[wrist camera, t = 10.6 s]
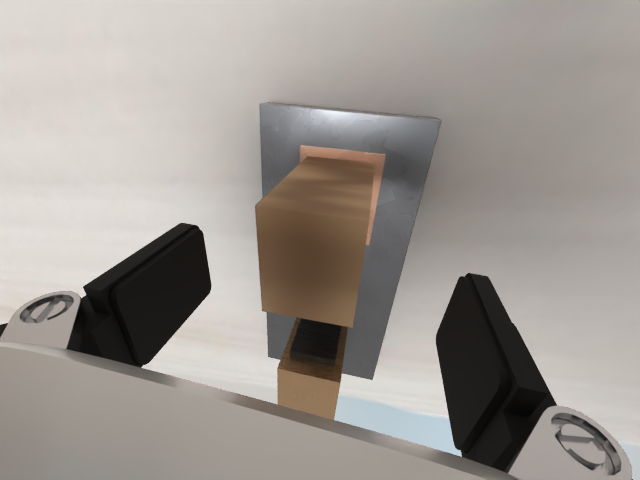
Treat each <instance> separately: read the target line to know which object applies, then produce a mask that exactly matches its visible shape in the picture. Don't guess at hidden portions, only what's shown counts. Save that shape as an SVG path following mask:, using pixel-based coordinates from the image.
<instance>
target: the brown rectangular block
mask: <svg viewBox="0 0 640 480" xmlns="http://www.w3.org/2000/svg"><path fill="white" fill-rule="evenodd" d="M374 166H375V163H371V162H361V161H351V160H341V159H331V158H321V157H311V156H307V157H306V158H305V159H304V160H303V161H302V162H301V163H300V164H299V165H298V166H297V167H295V168H294V169H293V170H292V171H291V172H290V173H289V174H288V175H287V176H286V177H285V178H284V179H283V180H282V181H281V182H280V183H279V184H277V185H276V186H275V187H274V188H273V189H272V190H271V191H270V192H269V193H268V194H267V195H266V196H265V197H264V198H263V199H262V200H261V201H259V202H258V203H257V204H256V205H255V212H256V227H257V241H258V256H259V271H260V286H261V300H262V311H265V312H270V313H276V314H281V315H286V316H292V317H297V318H303V319H308V320H313V321H319V322H324V323H330V324H335V325H340V326H346V327H351V328H353V322H354V316H355V310H356V303H357V297H358V290H359V284H360V277H361V271H362V265H363V258H364V252H365V245H366V239H367V233H368V226H369V219H370V209H371V198H372V187H373V177H374Z"/></svg>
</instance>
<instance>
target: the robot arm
mask: <svg viewBox="0 0 640 480" xmlns="http://www.w3.org/2000/svg"><path fill="white" fill-rule="evenodd" d="M83 288H84V290H85V292H86V296H84V297H83V298H82V299H81V297H80V296H79V295H78V294H77V293H75V292H72V291H59V292H53V293H49V294H46V295H43V296H40V297H38V298H35V299H33V300H31V301H29V302H27V303H26V304H24V305H23V306H21V307H20V308H19V309H18V310H17V311H16V312H15V313H14V314H13V316H12V317H11V319H10V321H9V323H6V324H2V325H0V480H633V479H632V466H631V464H630V462H629V459H628V457H627V455H626V453H625V452H624V450H623V449H622V447H621V446H620V445H619V443H618V442H617V441H616V440H615V439H614V438H613V437H612V436H611V435H610V434H609V433H608V432H607V430H605V429H604V428H603V427H602V426H600V425H599V424H598V423H597V422H595V421H594V420H593V419H591V418H589V417H588V416H586V415H584V414H582V413H581V412H579V411H576V410H574V409H571V408H568V407H563V406H557V404H556V402H555V401H554V399H553V397H552V395H551V393H550V391H549V389H548V387H547V385H546V383H545V381H544V379H543V378H542V376H541V374H540V372H539V370H538V368H537V366H536V364H535V362H534V360H533V358H532V356H531V355H530V353H529V351H528V349H527V347H526V345H525V343H524V341H523V339H522V337H521V335H520V333H519V332H518V330H517V328H516V326H515V325H514V324H513V323H512V322H511V320H510V318H509V316H508V314H507V312H506V310H505V308H504V306H503V304H502V302H501V300H500V298H499V297H498V295H497V293H496V291H495V289H494V287H493V285H492V283H491V281H490V279H489V278H488V277H487V276H482V275H477V274H471V273H468V274H467V275H466V276H465V277H463V276H461V277H460V278H459V279H458V282H457V284H456V287H455V289H454V292H453V294H452V297H451V299H450V302H449V304H448V307H447V309H446V312H445V314H444V317H443V319H442V322H441V324H440V327H439V329H438V332H437V335H436V346H437V351H438V357H439V363H440V368H441V374H442V379H443V385H444V391H445V396H446V402H447V408H448V413H449V419H450V424H451V429H452V435H453V441H454V445H455V447H456V448H457V449H458V450H461V453H462V457H460V456H456V455H453V454H450V453H447V452H443V451H440V450H436V449H433V448H430V447H426V446H423V445H419V444H416V443H413V442H409V441H406V440H403V439H399V438H395V437H392V436H389V435H385V434H381V433H378V432H375V431H371V430H367V429H363V428H360V427H356V426H352V425H349V424H346V423H342V422H339V421H335V420H331V419H328V418H324V417H321V416H317V415H313V414H310V413H306V412H303V411H299V410H295V409H292V408H288V407H284V406H281V405H277V404H273V403H270V402H266V401H262V400H258V399H255V398H251V397H248V396H244V395H240V394H237V393H233V392H229V391H225V390H222V389H218V388H214V387H210V386H207V385H203V384H200V383H196V382H192V381H189V380H185V379H181V378H177V377H173V376H170V375H166V374H162V373H158V372H155V371H151V370H147V369H143V368H141V367H142V366H143V365H145V364H147V363H149V362H150V361H151V360H152V359H153V358H154V356H155V355H156V354H157V353H158V352H159V351H160V349H161V348H162V347H163V346H164V345H165V344H166V343H167V341H168V340H169V339H170V338H171V337H172V336H173V335H174V333H175V332H176V331H177V330H178V329H179V328H180V327H181V325H182V324H183V323H184V322H185V321H186V320H187V318H188V317H189V316H190V315H191V314H192V313H193V312H194V310H195V309H196V308H197V307H198V306H199V305H200V304H201V302H202V301H203V300H204V299H205V298H206V297H207V296H208V294H209V293H210V290H211V280H210V274H209V267H208V261H207V255H206V249H205V242H204V236H203V232H202V231H201V230H200V229H199V227H198V226H196V225H192V224H186V223H180V224H178V225H177V226H175V227H174V228H172V229H171V230H169V231H168V232H166V233H165V234H163V235H161V236H160V237H158V238H157V239H155V240H154V241H152V242H151V243H149V244H148V245H146V246H145V247H143V248H142V249H140V250H139V251H137V252H135V253H134V254H132V255H131V256H129V257H128V258H126V259H125V260H123V261H122V262H120V263H119V264H117V265H116V266H114V267H113V268H111V269H110V270H108V271H106V272H105V273H103V274H102V275H100V276H99V277H97V278H96V279H94V280H93V281H91V282H90V283H88V284H87V285H85V286H84V287H83Z"/></svg>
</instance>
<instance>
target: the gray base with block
mask: <svg viewBox="0 0 640 480" xmlns="http://www.w3.org/2000/svg"><path fill="white" fill-rule="evenodd" d="M440 124H441V121H440V120H439V119H437V118H430V117H419V116H408V115H398V114H387V113H376V112H366V111H355V110H344V109H334V108H323V107H312V106H302V105H291V104H280V103H270V102H268V103H261V104H260V133H261V162H262V191H263V198H264V197H265V196H266V195H267V194H268V193H269V192H270V191H271V190H272V189H273V188H274V187H275V186H276V185H277V184H279V183H280V182H281V181H282V180H283V179H284V178H285V177H286V176H287V175H288V174H289V173H290V172H291V171H292V170H293V169H294V168H295V167H297V166H298V165H299V164H300V163H301V162H302V161H303V160H304V159H305V158H306V157H307V156H311V157H321V158H331V159H341V160H351V161H361V162H371V163H375V166H374V177H373V187H372V198H371V209H370V219H369V226H368V233H367V239H366V245H365V252H364V258H363V265H362V271H361V277H360V284H359V290H358V297H357V303H356V310H355V316H354V322H353V328H351V327H346V326H340V325H335V324H330V323H324V322H319V321H313V320H308V319H303V318H297V317H292V316H286V315H281V314H276V313H270V312H267V335H268V357H271V358H276V359H280V363H279V366H278V369H277V372H278V405H281V406H284V407H288V408H292V409H295V410H299V411H303V412H306V413H310V414H313V415H317V416H321V417H324V418H328V419H331V420H334V416H335V410H336V404H337V399H338V393H339V387H340V381H341V374H342V373H343V374H348V375H352V376H357V377H361V378H366V379H370V380H373V376H374V372H375V368H376V365H377V361H378V357H379V353H380V350H381V346H382V342H383V338H384V335H385V331H386V327H387V323H388V319H389V316H390V312H391V308H392V304H393V301H394V297H395V293H396V289H397V286H398V282H399V278H400V274H401V271H402V267H403V263H404V259H405V256H406V252H407V248H408V244H409V241H410V237H411V233H412V229H413V226H414V222H415V218H416V214H417V211H418V207H419V203H420V199H421V196H422V192H423V188H424V184H425V181H426V177H427V173H428V169H429V166H430V162H431V158H432V154H433V151H434V147H435V143H436V139H437V136H438V132H439V128H440Z"/></svg>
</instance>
